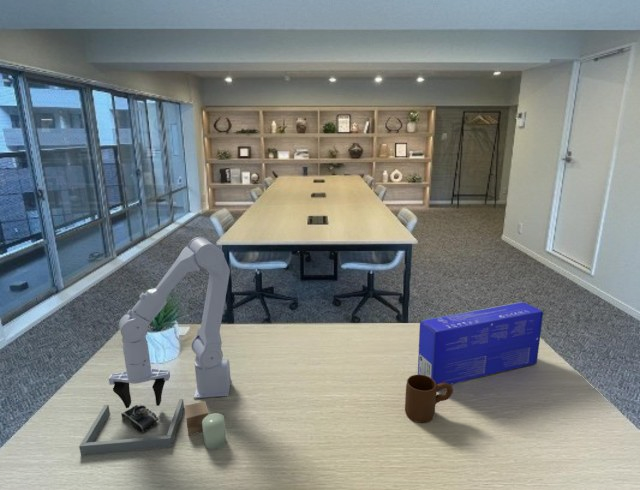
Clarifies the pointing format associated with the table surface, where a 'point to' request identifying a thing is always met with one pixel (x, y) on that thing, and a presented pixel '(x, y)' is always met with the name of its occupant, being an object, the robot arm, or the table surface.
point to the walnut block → (195, 417)
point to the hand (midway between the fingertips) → (143, 404)
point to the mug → (424, 397)
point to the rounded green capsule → (214, 431)
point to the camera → (141, 418)
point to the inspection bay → (127, 444)
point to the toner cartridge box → (479, 342)
